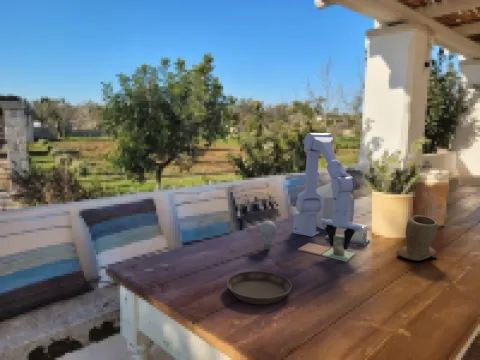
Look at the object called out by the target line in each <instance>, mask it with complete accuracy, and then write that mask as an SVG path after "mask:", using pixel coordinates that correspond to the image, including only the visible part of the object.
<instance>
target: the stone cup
mask: <svg viewBox="0 0 480 360" xmlns="http://www.w3.org/2000/svg"><path fill="white" fill-rule="evenodd" d="M438 226H439V223H438V222H437V221H436V219H434V218H432V217H430V216H427V215H421V214H420V215H419V214H415V215H412V216H411V217H409V218H408V220H407V223H406V227H405V238H406V245H404V246H403V247H400V248H397V249H396V250H395V254H396V255H398V256H399V257H401V258H404V259H406V260H410V261H417V262H419V261H424V260H426V259H429V258H431V257H432V256H434V255H436V254H437V251H436V250H435V249H433V247H431V245H432V242H433V241H434V239H435V238H436V235H437V233H438V228H439V227H438Z"/></svg>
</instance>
